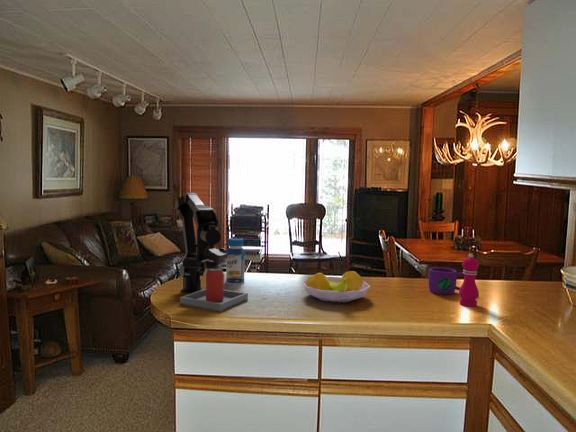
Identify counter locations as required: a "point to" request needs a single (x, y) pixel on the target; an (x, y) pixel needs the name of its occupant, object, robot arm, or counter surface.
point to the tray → (200, 301)
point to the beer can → (214, 285)
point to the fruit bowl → (336, 287)
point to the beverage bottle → (235, 261)
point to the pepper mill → (469, 282)
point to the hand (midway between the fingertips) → (203, 281)
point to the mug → (443, 280)
